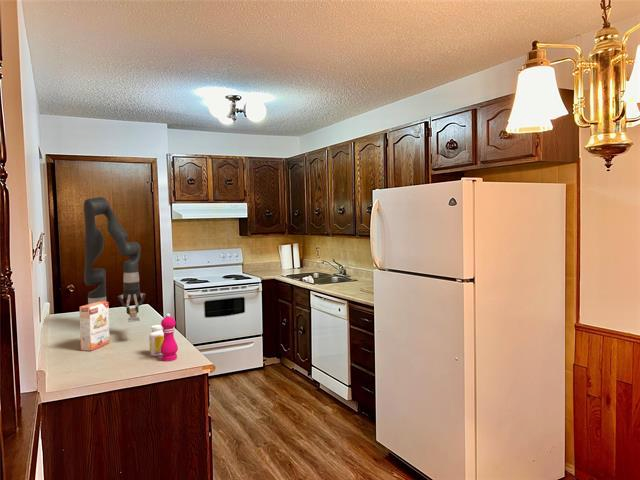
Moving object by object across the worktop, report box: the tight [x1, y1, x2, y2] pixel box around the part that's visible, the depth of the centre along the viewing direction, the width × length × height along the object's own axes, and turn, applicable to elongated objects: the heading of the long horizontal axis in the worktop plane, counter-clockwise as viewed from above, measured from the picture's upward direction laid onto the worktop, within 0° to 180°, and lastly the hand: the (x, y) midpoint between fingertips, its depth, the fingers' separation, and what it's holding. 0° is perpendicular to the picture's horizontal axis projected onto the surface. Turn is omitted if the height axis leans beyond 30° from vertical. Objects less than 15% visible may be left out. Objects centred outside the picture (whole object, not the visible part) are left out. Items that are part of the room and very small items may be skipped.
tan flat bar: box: [127, 307, 141, 323], centre depth 239 cm, size 18×5×3 cm, turn 24°
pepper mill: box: [160, 313, 179, 362], centre depth 206 cm, size 7×7×20 cm
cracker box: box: [79, 301, 111, 352], centre depth 227 cm, size 14×6×21 cm, turn 168°
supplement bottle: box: [148, 324, 164, 357], centre depth 213 cm, size 7×7×13 cm
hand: (132, 313), depth 245 cm, fingers closed on tan flat bar, 3 cm apart
